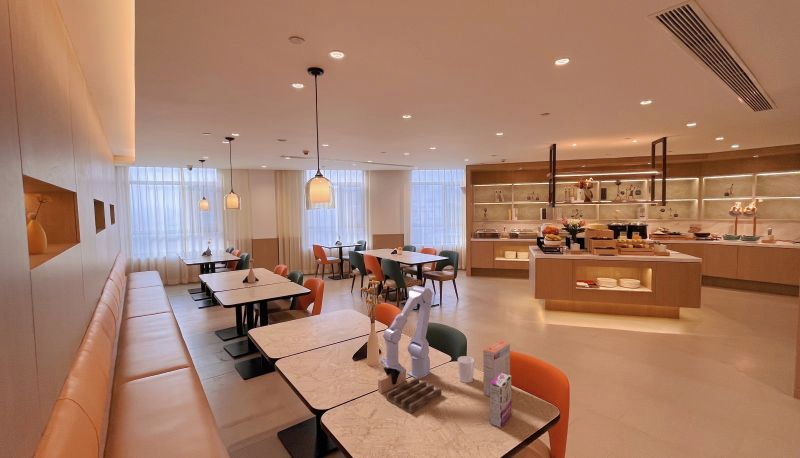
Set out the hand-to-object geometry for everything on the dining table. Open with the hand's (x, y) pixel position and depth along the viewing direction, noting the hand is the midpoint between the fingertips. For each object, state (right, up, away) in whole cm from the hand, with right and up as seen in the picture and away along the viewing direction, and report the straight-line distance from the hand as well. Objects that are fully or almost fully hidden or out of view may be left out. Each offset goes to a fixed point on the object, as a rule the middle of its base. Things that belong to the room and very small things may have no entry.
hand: (392, 382), depth 165 cm
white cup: (+35, -1, +6) cm, 36 cm away
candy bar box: (+43, -3, -26) cm, 50 cm away
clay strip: (0, -2, 0) cm, 2 cm away
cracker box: (+47, -2, -5) cm, 48 cm away
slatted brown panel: (+10, -2, -10) cm, 14 cm away
